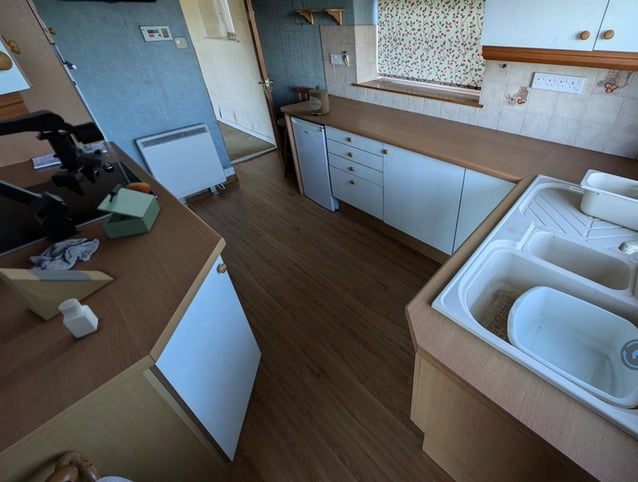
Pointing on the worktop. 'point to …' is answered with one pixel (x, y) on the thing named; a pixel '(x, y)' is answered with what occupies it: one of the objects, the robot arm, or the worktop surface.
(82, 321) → the white pill bottle
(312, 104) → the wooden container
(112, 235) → the green lidded box
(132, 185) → the fruit
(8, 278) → the sandwich container
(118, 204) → the bin lid
